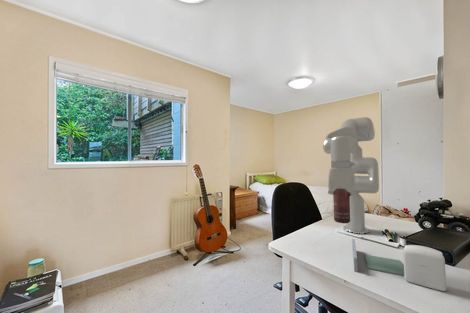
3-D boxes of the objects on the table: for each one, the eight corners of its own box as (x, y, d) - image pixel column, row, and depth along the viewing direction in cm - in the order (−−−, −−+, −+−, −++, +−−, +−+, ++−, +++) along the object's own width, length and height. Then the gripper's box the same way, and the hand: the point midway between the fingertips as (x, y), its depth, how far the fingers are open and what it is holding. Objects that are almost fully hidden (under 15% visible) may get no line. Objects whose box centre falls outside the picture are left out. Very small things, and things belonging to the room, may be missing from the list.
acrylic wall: (352, 250, 94) (352, 239, 94) (354, 250, 94) (354, 239, 94) (354, 271, 77) (354, 257, 77) (357, 271, 76) (357, 258, 76)
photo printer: (403, 281, 70) (402, 244, 70) (404, 276, 73) (403, 240, 73) (447, 294, 63) (445, 253, 63) (445, 287, 66) (444, 248, 67)
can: (341, 224, 84) (340, 189, 84) (330, 219, 90) (329, 187, 90) (354, 222, 85) (353, 188, 85) (342, 218, 91) (341, 186, 91)
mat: (364, 255, 89) (364, 254, 89) (399, 261, 83) (399, 260, 83) (367, 268, 78) (367, 267, 78) (408, 276, 72) (408, 275, 73)
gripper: (361, 164, 87) (362, 208, 87) (323, 165, 95) (324, 205, 95) (361, 165, 81) (363, 212, 81) (320, 165, 88) (322, 208, 88)
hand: (342, 208), depth 88 cm, fingers closed
